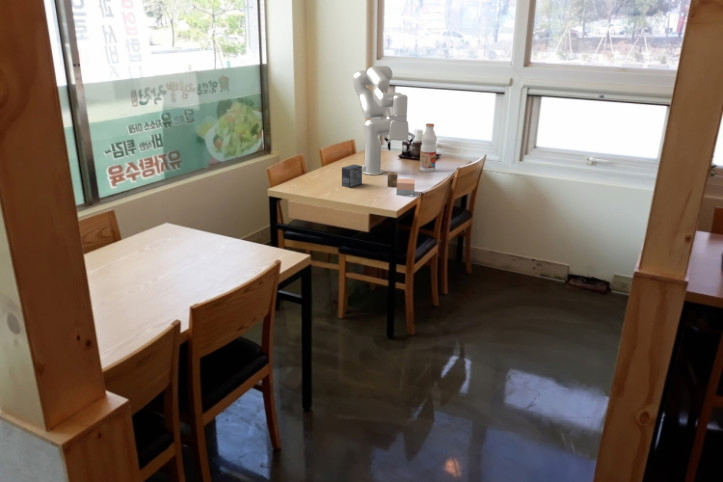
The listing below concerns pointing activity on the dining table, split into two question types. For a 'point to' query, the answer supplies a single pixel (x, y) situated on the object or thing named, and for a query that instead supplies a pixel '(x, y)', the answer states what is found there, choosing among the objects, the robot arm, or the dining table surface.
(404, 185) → the tower top
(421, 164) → the fruit juice
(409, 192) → the tower base
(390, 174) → the block
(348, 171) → the small box
